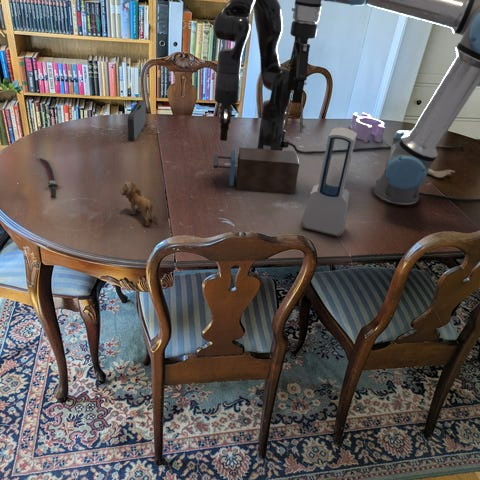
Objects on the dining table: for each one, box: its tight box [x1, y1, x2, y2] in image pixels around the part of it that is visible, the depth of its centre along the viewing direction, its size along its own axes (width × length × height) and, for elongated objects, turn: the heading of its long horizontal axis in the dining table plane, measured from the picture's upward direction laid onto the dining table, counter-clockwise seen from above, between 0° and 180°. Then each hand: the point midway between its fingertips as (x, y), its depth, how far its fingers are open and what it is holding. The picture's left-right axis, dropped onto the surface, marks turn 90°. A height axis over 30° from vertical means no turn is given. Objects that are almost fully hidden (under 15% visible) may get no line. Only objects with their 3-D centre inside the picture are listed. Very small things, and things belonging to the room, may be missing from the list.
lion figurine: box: [119, 181, 159, 227], centre depth 134 cm, size 15×5×9 cm, turn 50°
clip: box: [349, 112, 386, 143], centre depth 214 cm, size 20×12×7 cm, turn 11°
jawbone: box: [427, 168, 456, 179], centre depth 185 cm, size 9×20×2 cm, turn 50°
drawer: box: [213, 149, 239, 187], centre depth 158 cm, size 24×9×9 cm, turn 91°
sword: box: [40, 158, 59, 198], centre depth 151 cm, size 31×3×1 cm, turn 26°
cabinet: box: [235, 147, 300, 194], centre depth 159 cm, size 20×10×11 cm, turn 91°
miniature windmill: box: [284, 81, 308, 132], centre depth 206 cm, size 9×8×30 cm
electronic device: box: [300, 127, 357, 237], centre depth 132 cm, size 12×8×30 cm, turn 71°
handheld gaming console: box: [127, 99, 147, 141], centre depth 190 cm, size 23×3×10 cm, turn 178°
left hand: (223, 139), depth 152 cm, fingers closed
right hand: (293, 96), depth 145 cm, fingers open, 13 cm apart
